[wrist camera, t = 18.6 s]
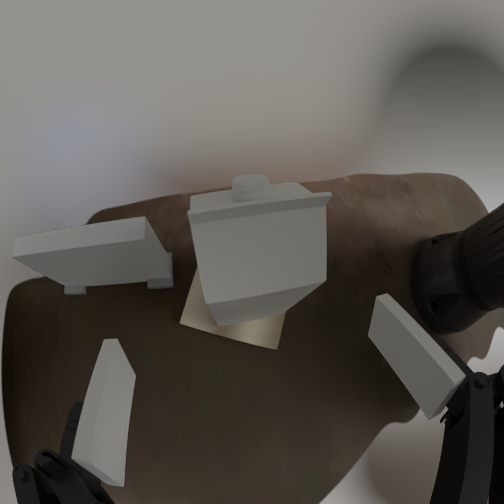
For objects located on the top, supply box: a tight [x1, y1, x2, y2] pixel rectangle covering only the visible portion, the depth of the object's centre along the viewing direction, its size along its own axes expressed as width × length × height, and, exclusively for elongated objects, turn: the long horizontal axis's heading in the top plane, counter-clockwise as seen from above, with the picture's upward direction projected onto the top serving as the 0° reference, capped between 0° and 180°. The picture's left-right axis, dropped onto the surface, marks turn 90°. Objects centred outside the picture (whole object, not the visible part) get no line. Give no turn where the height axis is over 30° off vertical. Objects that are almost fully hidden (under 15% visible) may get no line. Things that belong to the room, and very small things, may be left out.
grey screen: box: [12, 216, 174, 295], centre depth 25 cm, size 15×4×12 cm, turn 98°
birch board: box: [180, 266, 286, 350], centre depth 31 cm, size 11×11×1 cm
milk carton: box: [187, 174, 332, 326], centre depth 22 cm, size 7×7×19 cm
